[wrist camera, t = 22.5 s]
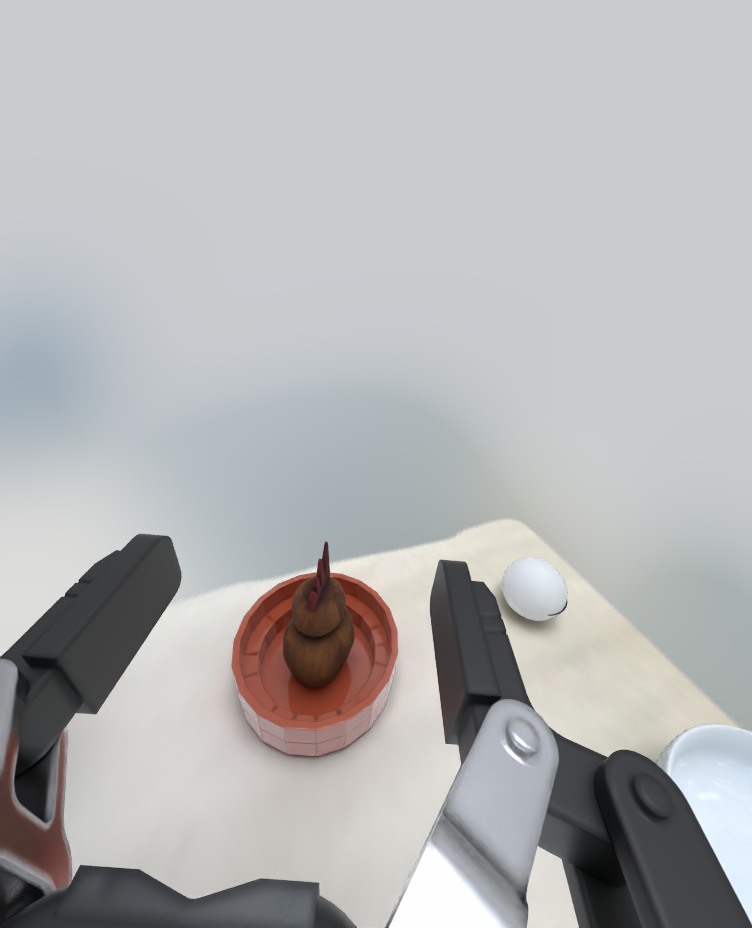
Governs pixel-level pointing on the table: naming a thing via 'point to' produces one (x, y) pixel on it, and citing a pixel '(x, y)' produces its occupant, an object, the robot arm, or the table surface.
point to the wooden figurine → (318, 628)
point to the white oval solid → (534, 589)
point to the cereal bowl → (718, 794)
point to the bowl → (302, 707)
